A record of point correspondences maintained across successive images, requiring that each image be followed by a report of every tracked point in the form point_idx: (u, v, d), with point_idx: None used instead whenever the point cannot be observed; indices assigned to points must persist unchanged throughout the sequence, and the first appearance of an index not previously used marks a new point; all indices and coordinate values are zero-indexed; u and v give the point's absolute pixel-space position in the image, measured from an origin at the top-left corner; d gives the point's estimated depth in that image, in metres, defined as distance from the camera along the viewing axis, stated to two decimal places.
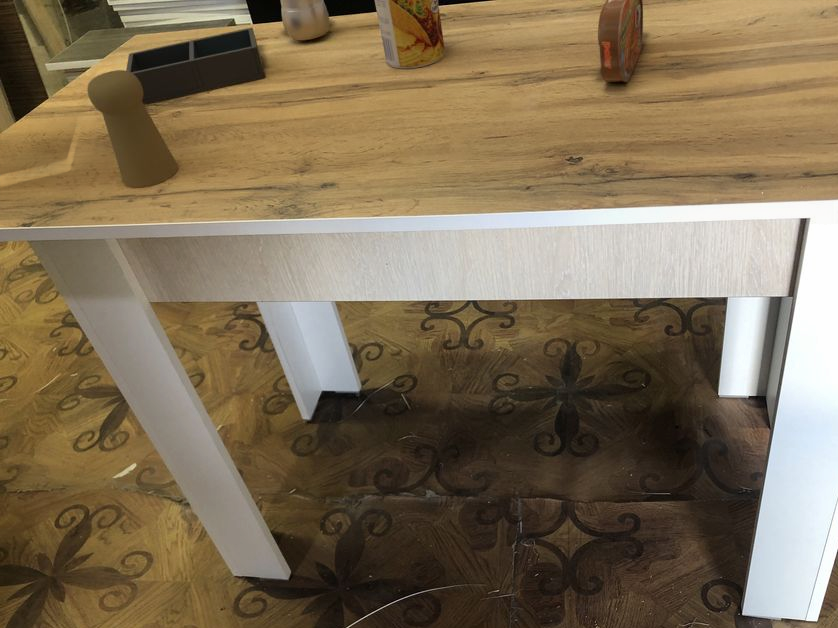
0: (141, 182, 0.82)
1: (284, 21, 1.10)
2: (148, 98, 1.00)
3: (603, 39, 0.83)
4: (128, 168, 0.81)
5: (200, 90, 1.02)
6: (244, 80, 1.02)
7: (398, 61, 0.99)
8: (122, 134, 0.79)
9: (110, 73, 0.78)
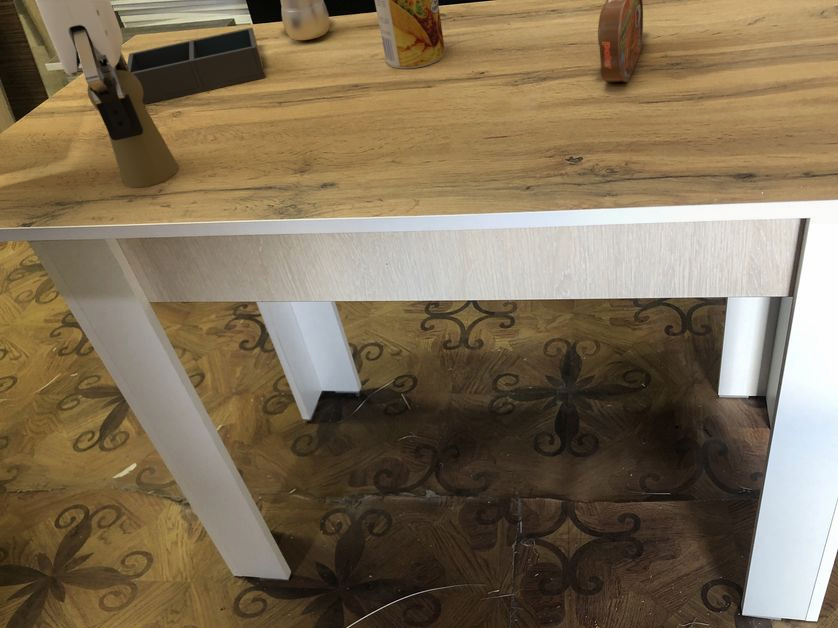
0: (141, 182, 0.82)
1: (284, 21, 1.10)
2: (148, 98, 1.00)
3: (603, 39, 0.83)
4: (128, 168, 0.81)
5: (200, 90, 1.02)
6: (244, 80, 1.02)
7: (398, 61, 0.99)
8: None
9: None
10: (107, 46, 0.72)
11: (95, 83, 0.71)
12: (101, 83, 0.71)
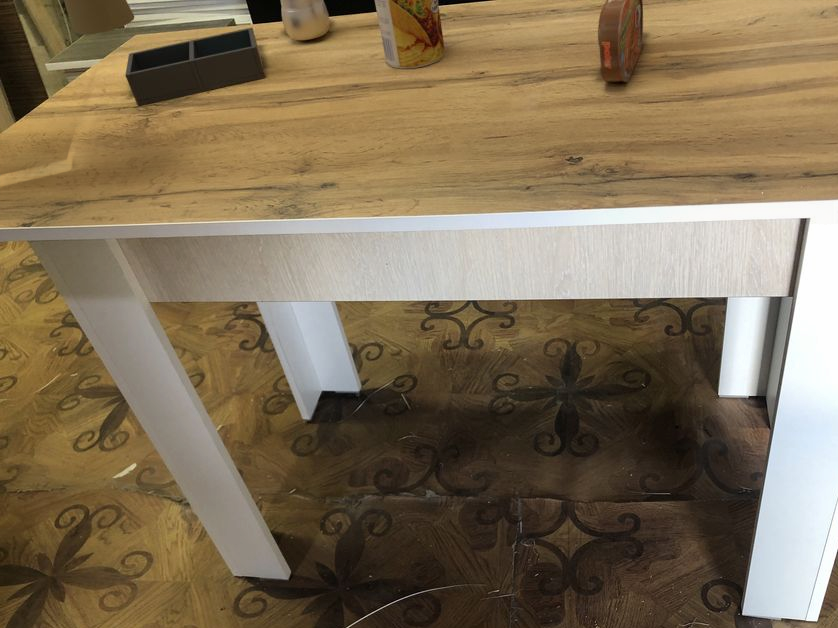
0: (91, 28, 0.75)
1: (284, 21, 1.10)
2: (148, 98, 1.00)
3: (603, 39, 0.83)
4: (77, 10, 0.74)
5: (200, 90, 1.02)
6: (244, 80, 1.02)
7: (398, 61, 0.99)
8: None
9: None
10: None
11: None
12: None
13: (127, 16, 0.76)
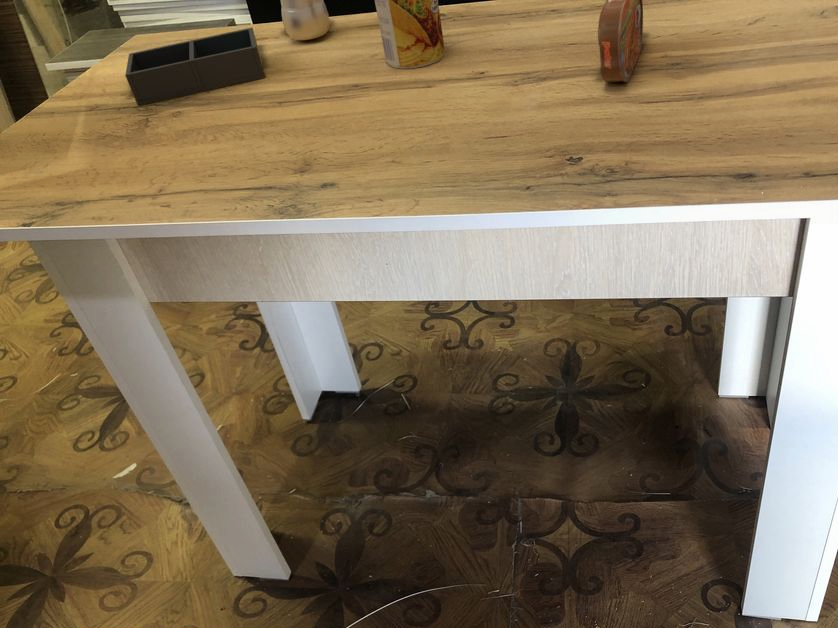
0: None
1: (284, 21, 1.10)
2: (148, 98, 1.00)
3: (603, 39, 0.83)
4: None
5: (200, 90, 1.02)
6: (244, 80, 1.02)
7: (398, 61, 0.99)
8: None
9: None
10: None
11: None
12: None
13: None
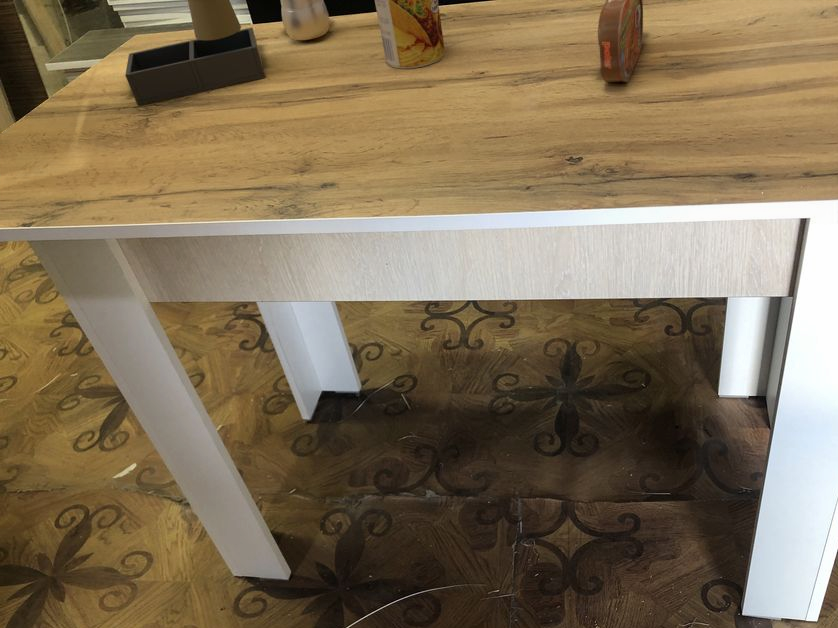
0: (212, 35, 0.99)
1: (284, 21, 1.10)
2: (148, 98, 1.00)
3: (603, 39, 0.83)
4: (202, 22, 0.99)
5: (200, 90, 1.02)
6: (244, 80, 1.02)
7: (398, 61, 0.99)
8: None
9: None
10: None
11: None
12: None
13: (237, 26, 1.01)
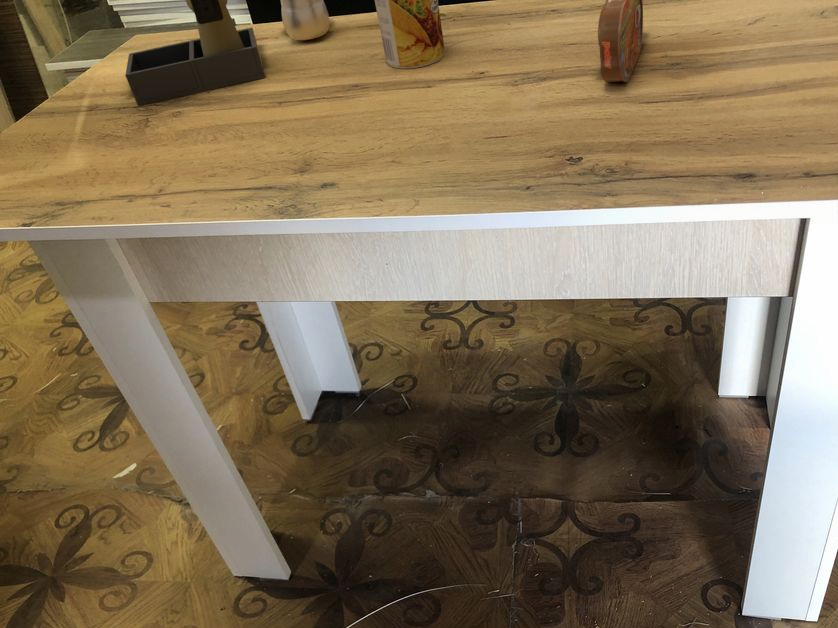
0: None
1: (284, 21, 1.10)
2: (148, 98, 1.00)
3: (603, 39, 0.83)
4: None
5: (200, 90, 1.02)
6: (244, 80, 1.02)
7: (398, 61, 0.99)
8: (211, 31, 1.00)
9: None
10: None
11: None
12: None
13: None
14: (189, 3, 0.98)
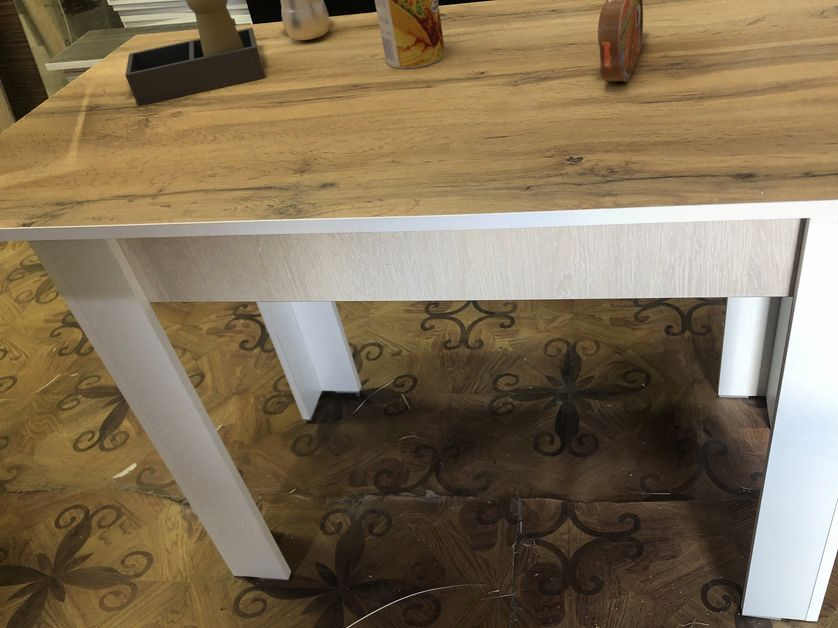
0: None
1: (284, 21, 1.10)
2: (148, 98, 1.00)
3: (603, 39, 0.83)
4: None
5: (200, 90, 1.02)
6: (244, 80, 1.02)
7: (398, 61, 0.99)
8: (211, 31, 1.00)
9: None
10: None
11: None
12: None
13: None
14: (189, 3, 0.98)
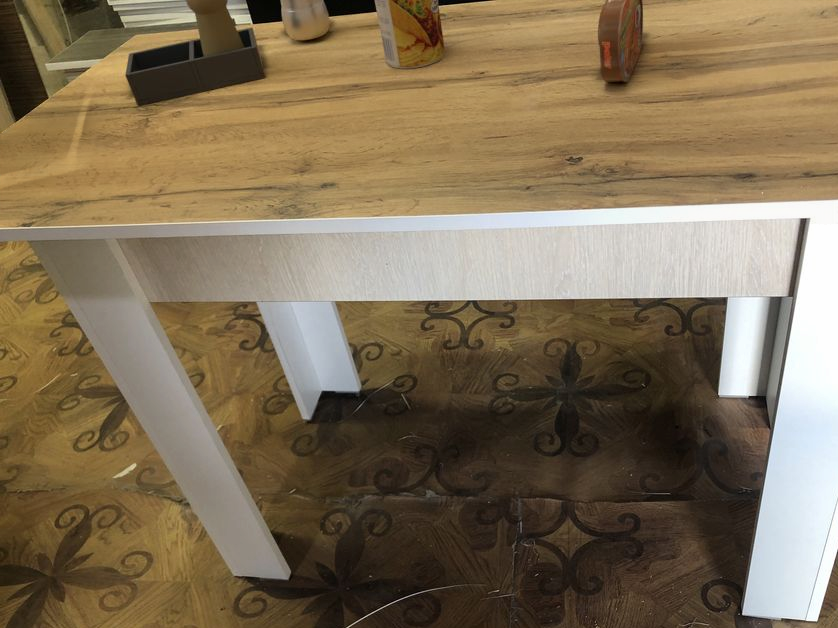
0: None
1: (284, 21, 1.10)
2: (148, 98, 1.00)
3: (603, 39, 0.83)
4: None
5: (200, 90, 1.02)
6: (244, 80, 1.02)
7: (398, 61, 0.99)
8: (211, 31, 1.00)
9: None
10: None
11: None
12: None
13: None
14: (189, 3, 0.98)
